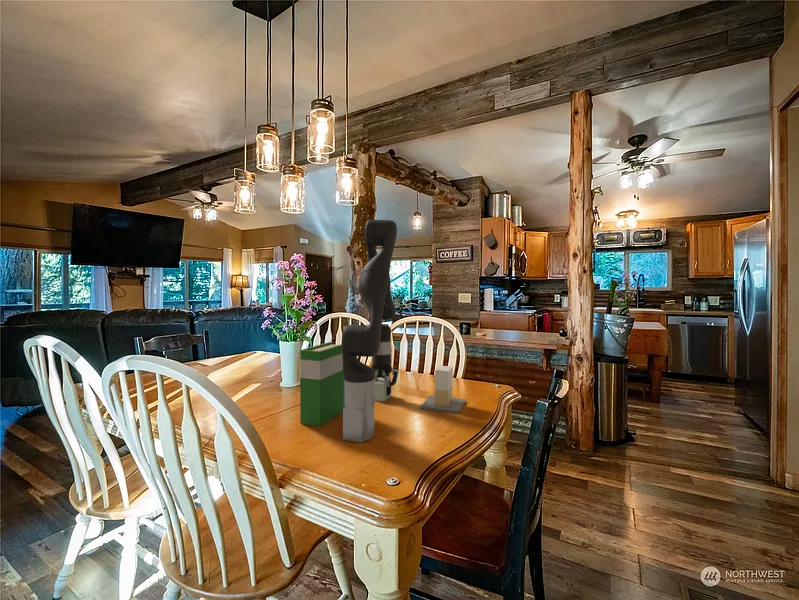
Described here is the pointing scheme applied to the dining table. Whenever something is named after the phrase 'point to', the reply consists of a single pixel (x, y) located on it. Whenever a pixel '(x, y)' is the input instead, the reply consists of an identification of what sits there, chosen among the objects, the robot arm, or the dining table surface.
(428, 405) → the board
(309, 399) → the hardback book
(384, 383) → the sage brick
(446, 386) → the off white brick
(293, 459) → the dining table surface
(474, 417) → the dining table surface
